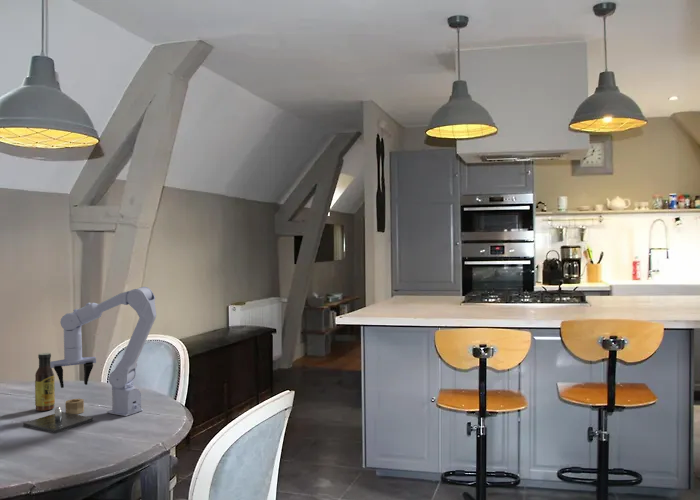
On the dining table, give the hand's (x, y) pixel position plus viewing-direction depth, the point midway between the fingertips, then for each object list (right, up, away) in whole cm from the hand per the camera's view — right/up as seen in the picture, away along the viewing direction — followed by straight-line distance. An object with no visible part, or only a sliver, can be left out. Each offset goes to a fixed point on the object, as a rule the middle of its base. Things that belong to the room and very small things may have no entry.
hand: (74, 385), depth 220 cm
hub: (0, -10, -12) cm, 16 cm away
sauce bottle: (-12, -10, +5) cm, 16 cm away
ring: (0, -9, 0) cm, 9 cm away
